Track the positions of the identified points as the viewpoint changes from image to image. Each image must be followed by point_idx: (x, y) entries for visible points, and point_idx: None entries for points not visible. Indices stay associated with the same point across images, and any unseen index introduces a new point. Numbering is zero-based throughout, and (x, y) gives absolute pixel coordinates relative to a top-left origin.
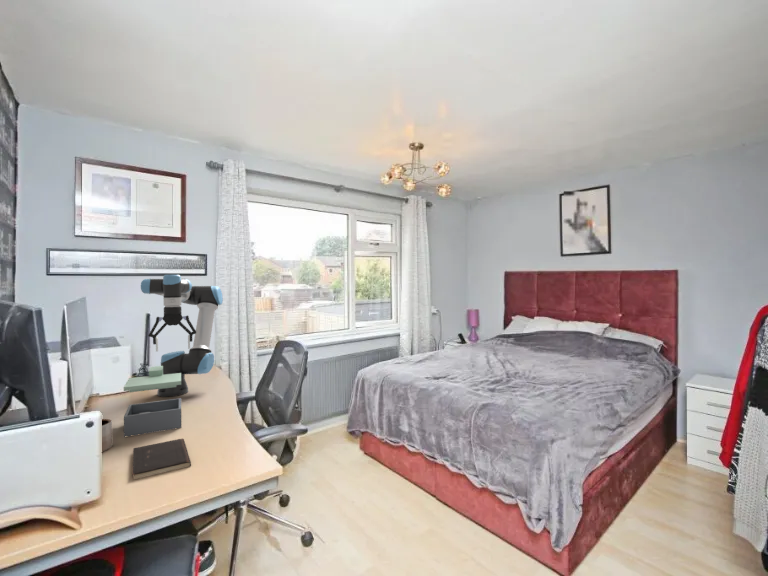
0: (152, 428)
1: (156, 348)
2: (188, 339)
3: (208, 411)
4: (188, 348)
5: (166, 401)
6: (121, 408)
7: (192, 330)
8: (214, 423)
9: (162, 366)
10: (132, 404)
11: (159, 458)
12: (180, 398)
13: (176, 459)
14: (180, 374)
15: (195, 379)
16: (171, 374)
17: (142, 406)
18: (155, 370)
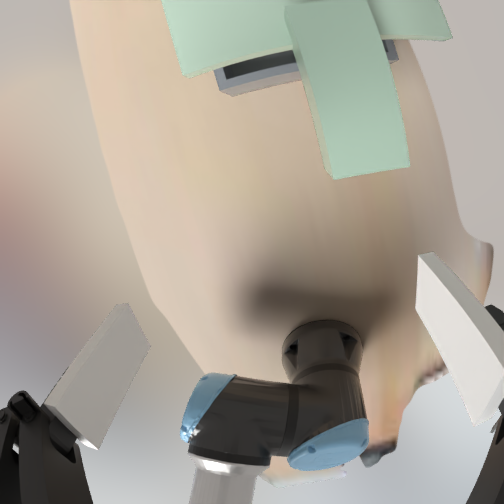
0: None
1: (444, 267)
2: (75, 370)
3: (156, 122)
4: (125, 305)
5: (271, 68)
6: (435, 241)
7: (1, 443)
8: (121, 20)
9: (330, 150)
10: (388, 58)
11: None
12: (220, 84)
13: None
14: (173, 30)
15: None
16: (231, 37)
17: None
18: (329, 5)
